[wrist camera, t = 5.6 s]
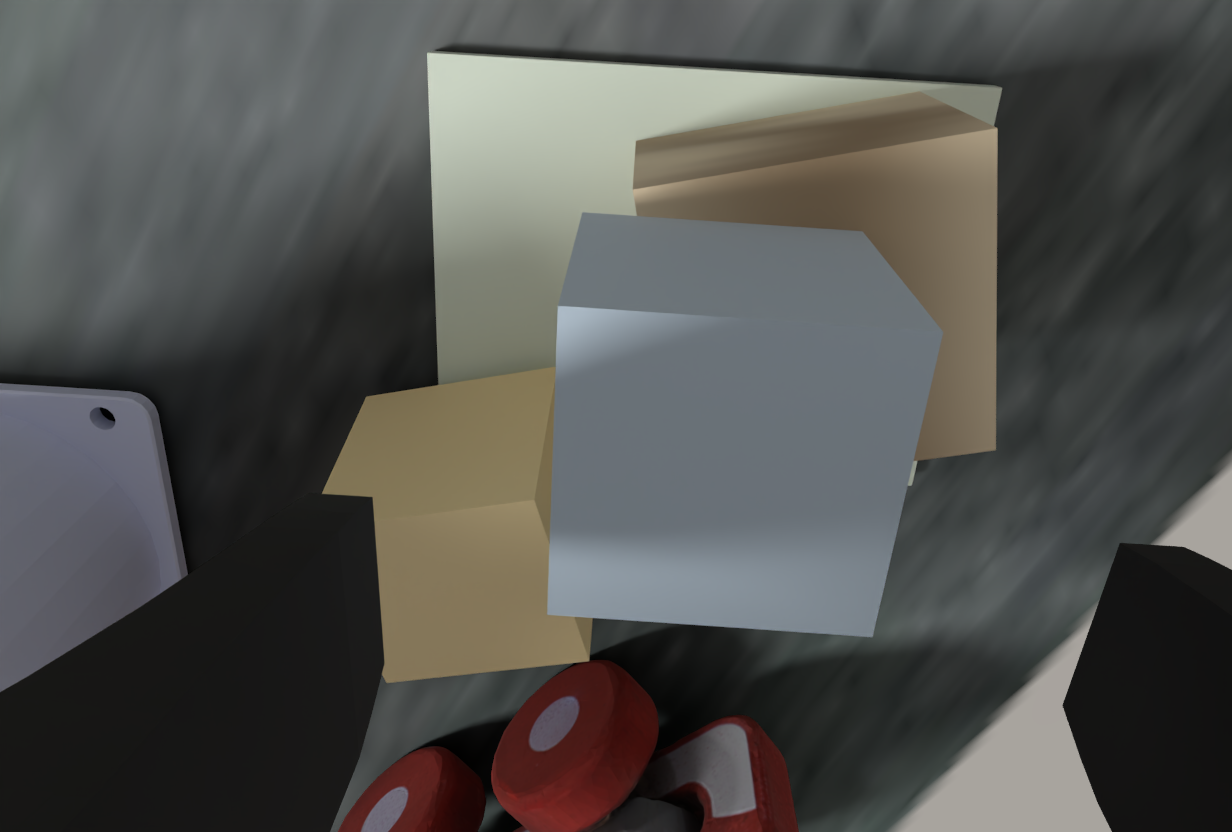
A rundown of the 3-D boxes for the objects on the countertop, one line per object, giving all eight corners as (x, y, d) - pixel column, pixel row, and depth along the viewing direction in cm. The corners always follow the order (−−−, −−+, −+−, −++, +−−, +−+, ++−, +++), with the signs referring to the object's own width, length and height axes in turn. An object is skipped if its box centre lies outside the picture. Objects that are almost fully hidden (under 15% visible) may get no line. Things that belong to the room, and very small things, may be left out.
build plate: (444, 447, 20) (440, 456, 20) (432, 50, 16) (427, 52, 16) (907, 476, 20) (911, 485, 20) (994, 84, 16) (1002, 88, 16)
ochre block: (429, 539, 21) (387, 682, 18) (365, 396, 19) (304, 530, 15) (600, 516, 20) (589, 660, 17) (556, 366, 18) (534, 499, 15)
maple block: (676, 390, 19) (683, 492, 15) (635, 140, 17) (632, 189, 13) (927, 354, 18) (996, 450, 15) (919, 91, 16) (997, 128, 12)
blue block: (571, 458, 15) (547, 614, 11) (582, 212, 13) (558, 305, 10) (818, 474, 15) (872, 636, 11) (862, 231, 13) (943, 331, 10)
